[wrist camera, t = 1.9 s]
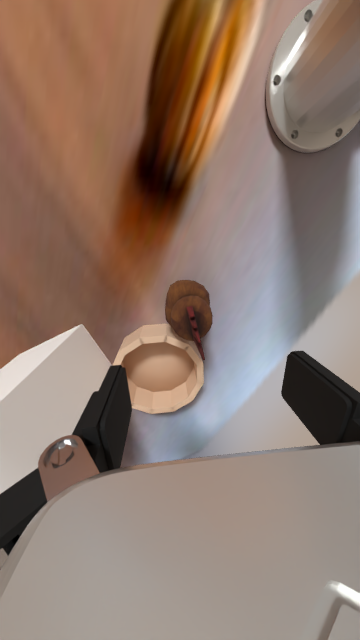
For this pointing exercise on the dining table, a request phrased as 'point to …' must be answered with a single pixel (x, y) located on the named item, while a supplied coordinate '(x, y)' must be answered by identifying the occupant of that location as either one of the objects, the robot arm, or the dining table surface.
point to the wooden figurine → (189, 311)
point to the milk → (45, 398)
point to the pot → (160, 368)
